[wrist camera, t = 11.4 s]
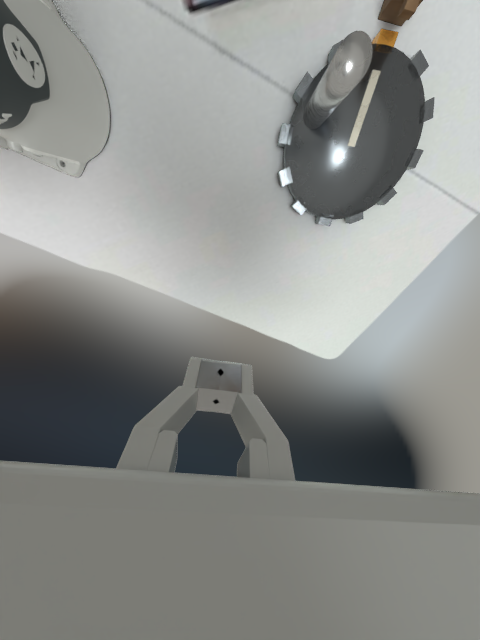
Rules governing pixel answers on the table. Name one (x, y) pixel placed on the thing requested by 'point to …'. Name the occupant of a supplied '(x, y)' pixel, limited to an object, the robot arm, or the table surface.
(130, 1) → the table surface
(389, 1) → the brown wooden block
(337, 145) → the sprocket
